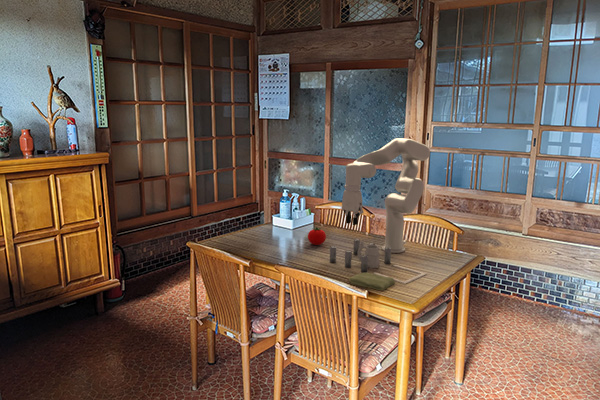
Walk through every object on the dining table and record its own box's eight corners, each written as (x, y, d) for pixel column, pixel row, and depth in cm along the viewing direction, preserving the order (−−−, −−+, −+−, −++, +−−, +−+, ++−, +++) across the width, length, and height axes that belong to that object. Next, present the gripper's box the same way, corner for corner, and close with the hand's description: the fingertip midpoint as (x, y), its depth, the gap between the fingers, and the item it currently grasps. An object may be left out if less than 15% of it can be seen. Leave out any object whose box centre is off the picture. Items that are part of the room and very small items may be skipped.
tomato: (322, 248, 258) (323, 230, 256) (305, 246, 262) (305, 229, 260) (327, 243, 268) (328, 226, 266) (310, 241, 271) (310, 224, 269)
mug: (375, 269, 224) (376, 245, 222) (353, 264, 231) (354, 241, 228) (382, 265, 231) (383, 242, 228) (360, 260, 237) (361, 238, 235)
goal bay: (395, 265, 230) (395, 264, 230) (426, 274, 217) (426, 273, 217) (373, 274, 217) (373, 273, 217) (405, 284, 205) (405, 283, 205)
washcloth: (361, 275, 217) (362, 269, 216) (396, 284, 206) (396, 277, 206) (347, 283, 207) (347, 276, 206) (382, 293, 196) (382, 286, 195)
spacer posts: (355, 252, 250) (356, 238, 248) (391, 263, 234) (392, 247, 232) (328, 262, 235) (328, 246, 233) (364, 273, 218) (365, 257, 217)
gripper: (335, 187, 234) (334, 222, 238) (361, 191, 223) (360, 228, 226) (345, 185, 239) (344, 220, 243) (370, 189, 228) (369, 225, 231)
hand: (351, 223), depth 235 cm, fingers open, 3 cm apart
